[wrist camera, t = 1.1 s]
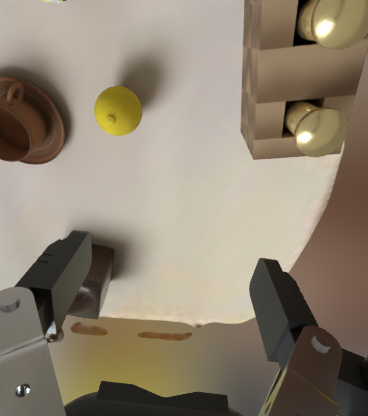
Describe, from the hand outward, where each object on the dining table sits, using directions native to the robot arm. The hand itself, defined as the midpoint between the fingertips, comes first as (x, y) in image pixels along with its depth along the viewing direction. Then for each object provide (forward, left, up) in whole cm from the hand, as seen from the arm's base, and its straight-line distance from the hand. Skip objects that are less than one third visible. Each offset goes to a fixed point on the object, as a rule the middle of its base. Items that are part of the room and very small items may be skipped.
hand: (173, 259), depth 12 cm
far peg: (-1, +12, -23) cm, 25 cm away
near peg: (-9, +12, -23) cm, 27 cm away
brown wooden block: (-5, +12, -28) cm, 30 cm away
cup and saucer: (-1, -23, -28) cm, 37 cm away
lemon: (-2, -8, -28) cm, 29 cm away
